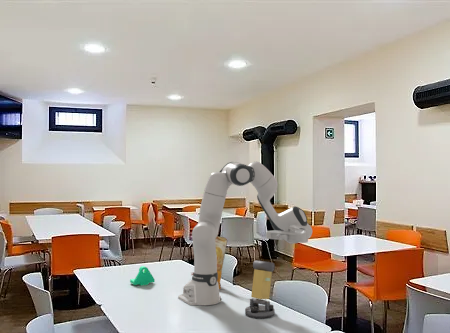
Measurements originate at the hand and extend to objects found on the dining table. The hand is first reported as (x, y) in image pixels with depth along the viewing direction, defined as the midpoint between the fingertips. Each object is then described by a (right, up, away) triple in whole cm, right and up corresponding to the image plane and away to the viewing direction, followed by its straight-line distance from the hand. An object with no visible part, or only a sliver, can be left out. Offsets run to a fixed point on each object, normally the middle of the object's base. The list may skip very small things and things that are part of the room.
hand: (278, 237), depth 202 cm
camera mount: (-73, -34, +41) cm, 90 cm away
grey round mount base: (-10, -32, -14) cm, 36 cm away
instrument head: (-10, -26, -13) cm, 31 cm away
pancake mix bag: (-32, -33, +35) cm, 58 cm away
